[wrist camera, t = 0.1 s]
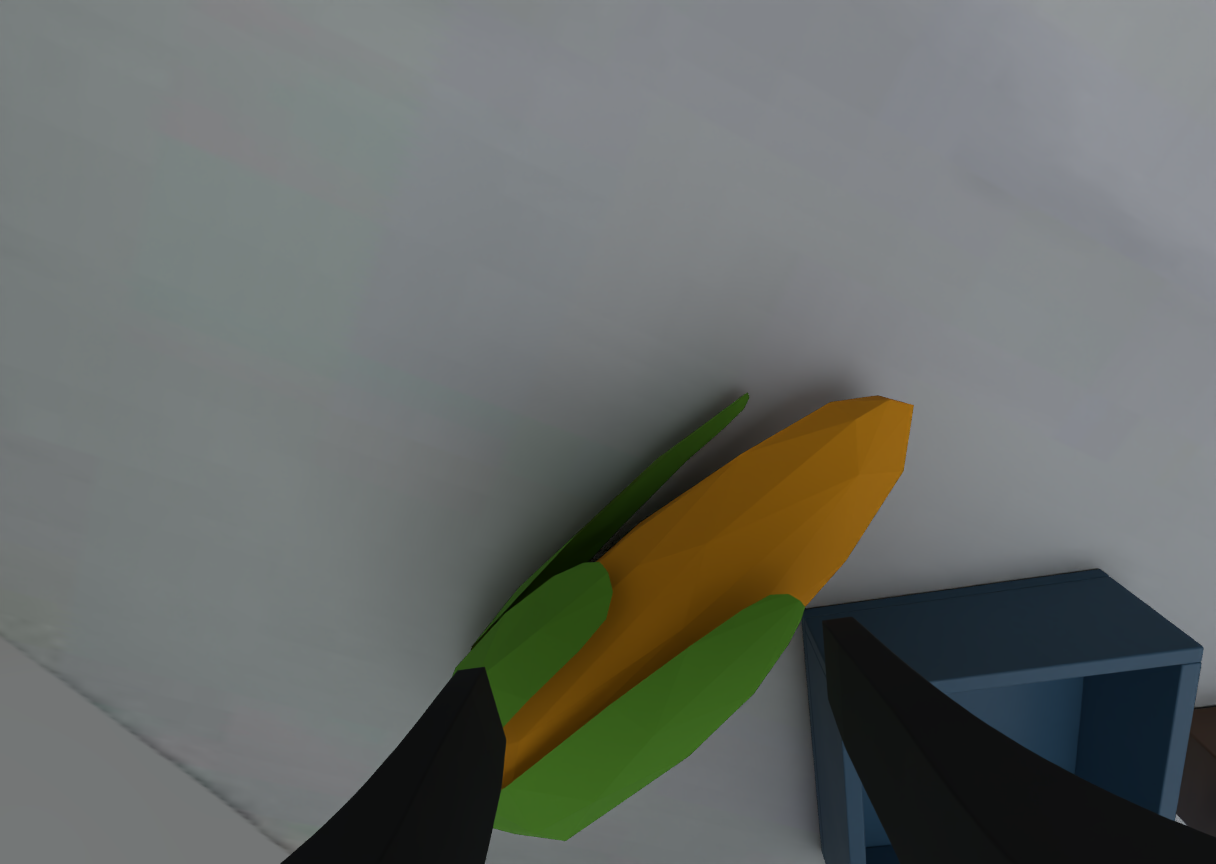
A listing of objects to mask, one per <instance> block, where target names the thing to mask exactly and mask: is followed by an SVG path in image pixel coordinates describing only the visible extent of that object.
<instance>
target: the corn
mask: <svg viewBox="0 0 1216 864" xmlns="http://www.w3.org/2000/svg"><path fill="white" fill-rule="evenodd" d="M748 400H749V395H748V393H746V394H744V395H743V396H742V397H740V398H739V399H737V400H736V401H735V402H733V403H732V404H731V405H729V406H728V407H727V408H725V409H724V410H723V411H721V412H720V413H718V414H717V415H716V416H714V417H713V418H712V419H710V420H709V421H708V422H706V423H705V424H703V425H702V426H701V427H699V428H698V429H697V430H695V431H694V432H693V433H691V434H690V435H689V436H687V437H686V438H684V439H683V440H682V441H680V442H679V443H678V444H676V445H675V446H674V447H672V448H671V449H669V450H668V451H667V452H665V453H664V454H663V455H661V456H660V457H659V458H657V459H656V460H655V461H654V462H653V463H652V464H651V465H650V466H649V467H648V468H646V469H645V470H644V471H643V472H642V473H641V474H640V475H639V476H638V477H637V478H636V479H635V480H634V481H633V482H631V483H630V484H629V485H628V486H627V487H626V488H625V489H624V490H623V491H622V492H621V493H620V494H619V495H617V496H616V497H615V498H614V499H613V500H612V501H611V502H610V503H609V504H608V505H607V506H606V507H605V508H604V509H602V510H601V511H600V512H599V513H598V514H597V515H596V516H595V517H594V518H593V519H592V520H591V521H590V522H589V523H587V524H586V525H585V526H584V527H583V528H582V529H581V530H580V531H579V532H578V533H577V534H576V535H575V536H574V537H572V538H571V539H570V540H569V541H568V542H567V543H566V544H565V545H564V546H563V547H562V548H561V549H560V550H559V551H557V552H556V553H555V554H554V555H553V556H552V557H551V558H550V559H549V560H548V561H547V562H546V563H545V564H544V565H543V566H541V567H540V568H539V569H538V570H537V571H536V572H535V573H534V574H533V575H532V576H531V577H530V578H529V579H528V580H527V581H525V582H524V583H523V584H522V585H521V586H520V587H519V588H518V589H517V591H516V592H515V593H514V594H513V596H512V597H511V598H510V599H509V601H508V602H507V603H506V604H505V606H504V607H503V608H502V609H501V611H500V612H499V613H498V614H497V616H496V617H495V618H494V619H493V621H492V622H491V623H490V624H489V626H488V627H487V628H486V629H485V631H484V632H483V633H482V634H481V636H480V637H479V638H478V639H477V641H476V642H475V643H474V644H473V646H472V648H471V651H470V653H469V654H468V655H467V656H466V657H465V658H464V659H463V660H462V661H461V662H460V664H459V665H458V666H457V667H456V668H455V671H454V673H453V675H454V674H455V673H456V672H457V670H464V669H471V668H478V667H485V669H486V672H487V676H488V679H489V683H490V686H491V689H492V693H493V696H494V699H495V703H496V706H497V710H498V713H499V716H500V720H501V723H502V727H503V730H504V733H505V737H506V750H505V761H504V771H503V779H502V788H501V793H500V798H499V802H498V807H497V811H496V816H495V820H494V825H493V828H494V829H498V830H502V831H506V832H509V833H513V834H519V835H526V836H533V837H541V838H548V839H555V840H562V841H566V840H568V839H569V838H571V837H572V836H574V835H575V834H577V833H578V832H579V831H581V830H582V829H584V828H585V827H587V826H588V825H590V824H591V823H593V822H594V821H595V820H597V819H598V818H600V817H601V816H603V815H604V814H606V813H607V812H608V811H610V810H611V809H613V808H614V807H616V806H617V805H619V804H620V803H622V802H623V801H624V800H626V799H627V798H629V797H630V796H632V795H633V794H635V793H636V792H638V791H639V790H640V789H642V788H643V787H645V786H646V785H648V784H649V783H651V782H652V781H654V780H655V779H656V778H658V777H659V776H661V775H662V774H664V773H665V772H667V771H668V770H669V769H671V768H672V767H674V766H675V765H677V764H678V763H680V762H681V761H683V760H684V759H685V758H687V757H688V756H690V755H691V754H692V753H693V752H694V751H695V750H696V749H697V748H698V747H699V746H700V745H701V744H702V743H703V742H704V741H705V740H706V739H707V738H708V737H709V736H710V735H711V734H712V733H713V732H714V731H716V730H717V729H718V728H719V727H720V726H721V725H722V724H723V723H724V722H725V721H726V720H727V719H728V718H729V717H730V716H731V715H732V714H733V713H734V712H735V711H736V710H737V709H738V708H739V707H740V706H741V705H743V704H744V703H745V702H746V701H747V700H748V699H749V698H750V697H751V696H752V695H753V694H754V693H755V691H756V690H757V688H758V687H759V685H760V684H761V683H762V681H763V680H764V678H765V677H766V676H767V674H768V673H769V671H770V670H771V668H772V667H773V666H774V664H775V663H776V661H777V660H778V659H779V657H780V656H781V654H782V653H783V651H784V650H785V649H786V647H787V646H788V644H789V642H790V640H791V639H792V637H793V635H794V633H795V631H796V629H797V627H798V625H799V623H800V621H801V619H802V616H803V612H804V609H805V607H806V606H807V604H808V603H809V602H810V601H811V600H812V599H813V598H814V596H815V595H816V594H817V593H818V592H819V591H820V590H821V588H822V587H823V586H824V585H825V584H826V583H827V582H828V581H829V579H830V578H831V577H832V576H833V575H834V574H835V573H836V571H837V570H838V569H839V568H840V567H841V566H842V565H843V563H844V562H845V561H846V560H847V558H848V557H849V555H850V554H851V552H852V550H853V549H854V547H855V546H856V544H857V543H858V541H859V540H860V538H861V536H862V535H863V533H864V532H865V530H866V529H867V527H868V526H869V524H870V522H871V521H872V519H873V518H874V516H875V515H876V513H877V511H878V510H879V508H880V507H881V505H882V504H883V502H884V501H885V499H886V497H887V496H888V494H889V493H890V491H891V490H892V488H893V486H894V485H895V483H896V482H897V480H898V479H899V477H900V476H901V474H902V472H903V471H904V464H905V458H906V452H907V445H908V439H909V433H910V426H911V420H912V413H913V407H914V405H911V404H907V403H904V402H900V401H896V400H893V399H889V398H885V397H882V396H878V395H877V396H870V397H862V398H855V399H848V400H841V401H834V402H830V403H828V404H826V405H824V406H823V407H821V408H819V409H818V410H816V411H814V412H812V413H811V414H809V415H807V416H806V417H804V418H802V419H800V420H799V421H797V422H795V423H794V424H792V425H790V426H788V427H787V428H785V429H783V430H782V431H780V432H778V433H776V434H775V435H773V436H771V437H770V438H768V439H766V440H764V441H763V442H761V443H759V444H757V445H756V446H754V447H752V448H751V449H749V450H747V451H745V452H744V453H742V454H740V455H739V456H737V457H736V458H734V459H733V460H732V461H730V462H729V463H727V464H726V465H724V466H723V467H721V468H720V469H718V470H717V471H715V472H714V473H712V474H711V475H709V476H708V477H706V478H705V479H704V480H702V481H701V482H699V483H698V484H696V485H695V486H693V487H692V488H690V489H689V490H687V491H686V492H684V493H683V494H681V495H680V496H678V497H677V498H675V499H674V500H673V501H671V502H670V503H668V504H667V505H665V506H664V507H662V508H661V509H659V510H658V511H656V512H655V513H653V514H652V515H650V516H649V517H647V518H646V519H645V520H643V521H642V522H640V523H639V524H638V525H636V526H635V527H634V528H633V529H632V530H631V531H630V532H629V533H627V534H626V535H625V536H624V537H623V538H622V539H621V540H620V541H618V542H617V543H616V544H615V545H614V546H613V547H612V548H611V549H610V550H608V551H607V552H606V553H605V554H604V555H603V556H602V557H601V558H599V559H598V560H597V561H596V562H588V561H589V560H590V559H591V558H592V557H593V556H594V555H595V554H596V553H597V552H598V551H599V550H600V549H601V548H602V547H603V545H604V544H605V543H606V542H607V541H608V540H609V539H610V538H611V537H612V536H613V535H614V534H615V533H616V532H617V531H618V530H619V528H620V527H621V526H622V525H623V524H624V523H625V522H626V521H627V520H628V519H629V518H630V517H631V516H632V515H633V514H634V513H635V512H636V511H637V510H638V509H639V508H640V507H641V506H642V505H643V504H644V503H645V502H646V501H647V500H648V499H649V498H650V497H651V496H652V495H653V494H654V493H655V492H656V491H657V490H658V489H659V488H660V487H661V486H662V485H663V484H664V483H665V482H666V481H667V480H668V479H669V478H670V477H671V476H672V475H673V474H674V473H675V472H676V471H677V470H678V469H679V468H680V467H681V466H682V465H683V464H684V463H685V462H686V461H687V460H689V459H690V458H691V457H692V456H693V455H694V454H695V453H697V452H698V451H699V450H700V449H701V448H702V447H703V446H704V445H706V444H707V443H708V442H709V441H710V440H711V439H712V438H714V437H715V436H716V435H717V434H718V433H719V432H720V431H721V430H723V429H724V428H725V427H726V426H727V425H728V424H729V423H730V422H731V421H732V420H733V419H734V418H735V417H736V416H737V415H738V414H739V413H740V412H741V411H742V410H743V409H744V408H745V406H746V404H747V402H748ZM587 562H588V563H587ZM452 677H453V676H452Z"/></svg>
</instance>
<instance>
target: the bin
mask: <svg viewBox="0 0 1216 864" xmlns="http://www.w3.org/2000/svg"><path fill="white" fill-rule="evenodd" d="M851 616H852V617H853V618H855V619H856V620H857V621H858V622H860V623H861V624H862V625H863V626H864V627H865V628H866V629H867V630H868V631H870V632H871V633H872V634H873V635H874V636H875V637H876V638H877V639H879V640H880V641H881V642H882V643H883V644H884V645H885V646H887V647H888V648H889V649H890V650H891V651H892V652H893V653H895V654H896V655H897V656H898V657H899V658H900V659H902V660H903V661H904V662H905V663H906V664H908V665H909V666H910V667H911V668H913V669H914V670H915V671H916V672H918V673H919V674H920V675H921V676H923V677H924V678H925V679H926V680H928V681H929V682H930V683H931V684H933V685H934V686H935V687H936V688H938V689H939V690H940V691H942V692H943V693H944V694H946V695H947V696H948V697H950V698H951V699H952V700H954V701H955V702H957V703H958V704H959V705H961V706H962V707H964V708H965V709H966V710H968V711H969V712H970V713H972V714H973V715H975V716H976V717H978V718H979V719H981V720H982V721H984V722H985V723H987V724H988V725H990V726H991V727H993V728H994V729H996V730H998V731H999V732H1001V733H1003V734H1004V735H1006V736H1007V737H1009V738H1011V739H1012V740H1014V741H1015V742H1017V743H1019V744H1020V745H1022V746H1024V747H1025V748H1027V749H1029V750H1031V751H1032V752H1034V753H1036V754H1038V755H1039V756H1041V757H1043V758H1045V759H1046V760H1048V761H1050V762H1052V763H1054V764H1056V765H1058V766H1060V767H1061V768H1063V769H1065V770H1067V771H1069V772H1071V773H1073V774H1075V775H1076V776H1078V777H1080V778H1082V779H1084V780H1086V781H1088V782H1090V783H1092V784H1094V785H1096V786H1098V787H1100V788H1102V789H1104V790H1106V791H1108V792H1110V793H1112V794H1115V795H1117V796H1119V797H1121V798H1123V799H1126V800H1128V801H1130V802H1132V803H1134V804H1137V805H1139V806H1141V807H1143V808H1145V809H1148V810H1150V811H1152V812H1154V813H1157V814H1159V815H1161V816H1163V817H1166V818H1168V819H1171V820H1173V821H1175V816H1176V811H1177V805H1178V799H1179V793H1180V787H1181V781H1182V775H1183V769H1184V764H1185V758H1186V752H1187V746H1188V740H1189V734H1190V728H1191V722H1192V717H1193V711H1194V705H1195V699H1196V693H1197V687H1198V681H1199V675H1200V670H1201V661H1202V655H1203V649H1204V648H1203V646H1201V645H1200V644H1199V643H1198V642H1196V641H1195V640H1194V639H1192V638H1191V637H1190V636H1188V635H1187V634H1186V633H1184V632H1183V631H1182V630H1180V629H1179V628H1178V627H1176V626H1175V625H1174V624H1172V623H1171V622H1170V621H1168V620H1167V619H1166V618H1164V617H1163V616H1162V615H1160V614H1159V613H1158V612H1156V611H1155V610H1154V609H1152V608H1151V607H1150V606H1148V605H1147V604H1146V603H1144V602H1143V601H1142V600H1140V599H1139V598H1138V597H1136V596H1135V595H1134V594H1132V593H1131V592H1130V591H1128V590H1127V589H1126V588H1124V587H1123V586H1122V585H1120V584H1119V583H1118V582H1116V581H1115V580H1114V579H1112V578H1111V577H1109V575H1107V574H1106V573H1105V572H1103V571H1102V570H1101V569H1096V570H1089V571H1082V572H1074V573H1067V574H1060V575H1053V576H1045V577H1038V578H1031V579H1023V580H1016V581H1009V582H1002V583H994V584H987V585H980V586H973V587H965V588H958V589H951V590H943V591H936V592H929V593H922V594H914V595H907V596H900V597H892V598H885V599H878V600H871V601H863V602H856V603H849V604H842V605H834V606H827V607H820V608H812V609H805V610H804V612H803V616H802V630H803V642H804V653H805V665H806V677H807V688H808V700H809V711H810V723H811V735H812V746H813V758H814V769H815V781H816V793H817V804H818V816H819V827H820V839H821V850H822V854H823V857H824V860H825V863H826V864H900V862H899V860H898V857H897V855H896V853H895V851H894V849H893V847H892V845H891V843H890V841H889V839H888V836H887V834H886V832H885V830H884V828H883V826H882V824H881V822H880V820H879V818H878V816H877V814H876V812H875V809H874V807H873V805H872V803H871V801H870V799H869V797H868V795H867V793H866V791H865V789H864V787H863V785H862V783H861V780H860V778H859V776H858V774H857V772H856V770H855V768H854V766H853V764H852V762H851V759H850V757H849V755H848V753H847V751H846V749H845V747H844V744H843V741H842V738H841V735H840V733H839V730H838V727H837V724H836V721H835V718H834V715H833V712H832V709H831V707H830V704H829V701H828V694H827V681H826V667H825V654H824V640H823V627H822V620H829V619H837V618H844V617H851Z"/></svg>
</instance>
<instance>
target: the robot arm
mask: <svg viewBox="0 0 1216 864" xmlns="http://www.w3.org/2000/svg"><path fill="white" fill-rule="evenodd" d="M822 627H823V640H824V654H825V667H826V681H827V694H828V701H829V704H830V707H831V709H832V712H833V715H834V718H835V721H836V724H837V727H838V730H839V733H840V735H841V738H842V741H843V744H844V747H845V749H846V751H847V753H848V755H849V757H850V759H851V762H852V764H853V766H854V768H855V770H856V772H857V774H858V776H859V778H860V780H861V783H862V785H863V787H864V789H865V791H866V793H867V795H868V797H869V799H870V801H871V803H872V805H873V807H874V809H875V812H876V814H877V816H878V818H879V820H880V822H881V824H882V826H883V828H884V830H885V832H886V834H887V836H888V839H889V841H890V843H891V845H892V847H893V849H894V851H895V853H896V855H897V857H898V860H899V862H900V864H1216V837H1214V836H1211V835H1209V834H1206V833H1204V832H1201V831H1199V830H1196V829H1194V828H1191V827H1189V826H1186V825H1183V824H1181V823H1178V822H1176V821H1173V820H1171V819H1168V818H1166V817H1163V816H1161V815H1159V814H1157V813H1154V812H1152V811H1150V810H1148V809H1145V808H1143V807H1141V806H1139V805H1137V804H1134V803H1132V802H1130V801H1128V800H1126V799H1123V798H1121V797H1119V796H1117V795H1115V794H1112V793H1110V792H1108V791H1106V790H1104V789H1102V788H1100V787H1098V786H1096V785H1094V784H1092V783H1090V782H1088V781H1086V780H1084V779H1082V778H1080V777H1078V776H1076V775H1075V774H1073V773H1071V772H1069V771H1067V770H1065V769H1063V768H1061V767H1060V766H1058V765H1056V764H1054V763H1052V762H1050V761H1048V760H1046V759H1045V758H1043V757H1041V756H1039V755H1038V754H1036V753H1034V752H1032V751H1031V750H1029V749H1027V748H1025V747H1024V746H1022V745H1020V744H1019V743H1017V742H1015V741H1014V740H1012V739H1011V738H1009V737H1007V736H1006V735H1004V734H1003V733H1001V732H999V731H998V730H996V729H994V728H993V727H991V726H990V725H988V724H987V723H985V722H984V721H982V720H981V719H979V718H978V717H976V716H975V715H973V714H972V713H970V712H969V711H968V710H966V709H965V708H964V707H962V706H961V705H959V704H958V703H957V702H955V701H954V700H952V699H951V698H950V697H948V696H947V695H946V694H944V693H943V692H942V691H940V690H939V689H938V688H936V687H935V686H934V685H933V684H931V683H930V682H929V681H928V680H926V679H925V678H924V677H923V676H921V675H920V674H919V673H918V672H916V671H915V670H914V669H913V668H911V667H910V666H909V665H908V664H906V663H905V662H904V661H903V660H902V659H900V658H899V657H898V656H897V655H896V654H895V653H893V652H892V651H891V650H890V649H889V648H888V647H887V646H885V645H884V644H883V643H882V642H881V641H880V640H879V639H877V638H876V637H875V636H874V635H873V634H872V633H871V632H870V631H868V630H867V629H866V628H865V627H864V626H863V625H862V624H861V623H860V622H858V621H857V620H856V619H855V618H853V617H852V616H851V617H844V618H837V619H829V620H822ZM505 750H506V737H505V733H504V730H503V727H502V723H501V720H500V716H499V713H498V710H497V706H496V703H495V699H494V696H493V693H492V689H491V686H490V683H489V679H488V676H487V672H486V669H485V667H478V668H471V669H464V670H457V672H456V673H455V674H454V675H453V677H452V678H451V679H450V680H449V682H448V683H447V684H446V686H445V687H444V688H443V689H442V691H441V692H440V693H439V695H438V696H437V697H436V698H435V700H434V701H433V702H432V704H431V705H430V706H429V707H428V709H427V710H426V711H425V713H424V714H423V715H422V716H421V718H420V719H419V720H418V722H417V723H416V724H415V725H414V727H413V728H412V729H411V730H410V731H409V733H408V734H407V735H406V736H405V738H404V739H403V740H402V741H401V743H400V744H399V745H398V746H397V748H396V749H395V750H394V751H393V752H392V753H391V754H390V756H389V757H388V758H387V759H386V760H385V761H384V762H383V764H382V765H381V766H380V767H379V768H378V769H377V770H376V772H375V773H374V774H373V775H372V776H371V777H370V778H369V780H368V781H367V782H366V783H365V784H364V785H363V786H362V787H361V788H360V789H359V791H358V792H357V793H356V794H355V795H354V796H353V797H352V798H351V799H350V800H349V801H348V802H347V803H346V804H345V805H344V806H343V807H342V808H341V809H340V810H339V811H338V812H337V813H336V814H335V815H334V816H333V817H332V818H331V819H330V820H329V821H328V822H327V823H326V824H325V825H324V826H322V827H321V828H320V829H319V830H318V831H317V832H316V833H315V834H314V835H313V836H312V837H310V838H309V839H308V840H307V841H306V842H305V843H304V844H302V845H301V846H300V847H299V848H298V849H297V850H296V851H294V852H293V853H292V854H291V855H290V856H289V857H287V858H286V859H285V860H284V861H283V862H282V863H281V864H485V860H486V856H487V851H488V847H489V842H490V838H491V834H492V829H493V825H494V820H495V816H496V811H497V807H498V802H499V798H500V793H501V788H502V779H503V771H504V761H505Z"/></svg>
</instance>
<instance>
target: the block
mask: <svg viewBox="0 0 1216 864" xmlns="http://www.w3.org/2000/svg"><path fill="white" fill-rule="evenodd" d="M1176 814H1177V815H1178V816H1179V817H1180V818H1181V819H1182V820H1183V821H1184V823H1185V824H1186V825H1187V826H1189V827H1191V828H1194V829H1196V830H1199V831H1201V832H1204V833H1206V834H1209V835H1211V836H1214V837H1216V707H1207V708H1199V709H1194V711H1193V717H1192V722H1191V728H1190V734H1189V740H1188V746H1187V752H1186V758H1185V764H1184V769H1183V775H1182V781H1181V787H1180V793H1179V799H1178V805H1177V811H1176Z"/></svg>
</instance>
